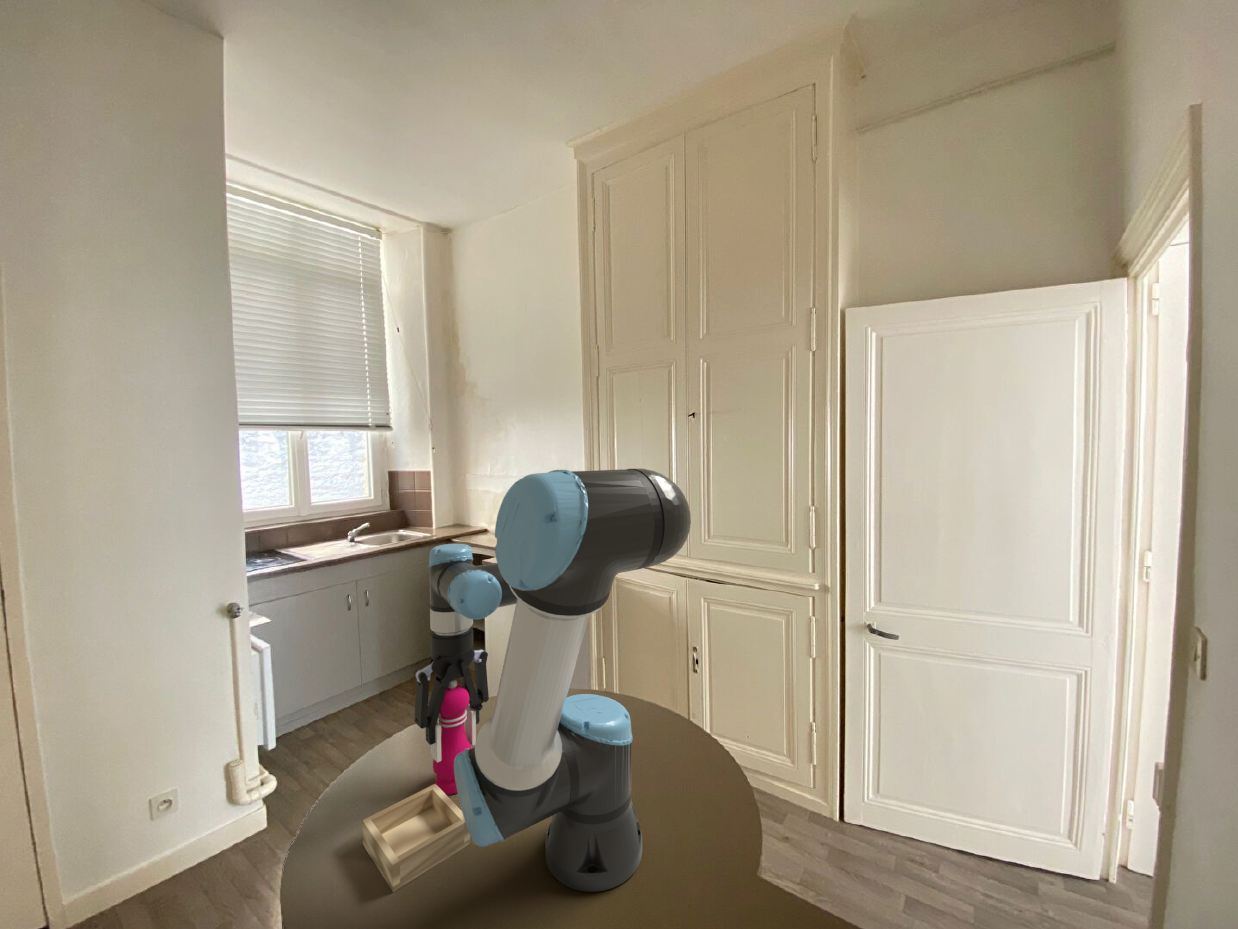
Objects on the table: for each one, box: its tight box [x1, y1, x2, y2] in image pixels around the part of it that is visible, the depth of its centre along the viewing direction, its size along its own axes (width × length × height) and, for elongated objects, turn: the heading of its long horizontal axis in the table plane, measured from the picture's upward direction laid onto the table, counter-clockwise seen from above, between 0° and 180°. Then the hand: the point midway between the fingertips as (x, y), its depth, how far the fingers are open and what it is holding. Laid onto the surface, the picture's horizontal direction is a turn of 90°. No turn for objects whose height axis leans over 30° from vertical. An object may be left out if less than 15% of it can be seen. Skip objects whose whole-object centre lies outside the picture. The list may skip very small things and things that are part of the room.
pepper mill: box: [432, 678, 473, 796], centre depth 93 cm, size 7×7×20 cm
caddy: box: [362, 783, 471, 893], centre depth 79 cm, size 12×12×4 cm
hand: (453, 749), depth 93 cm, fingers closed on pepper mill, 6 cm apart
